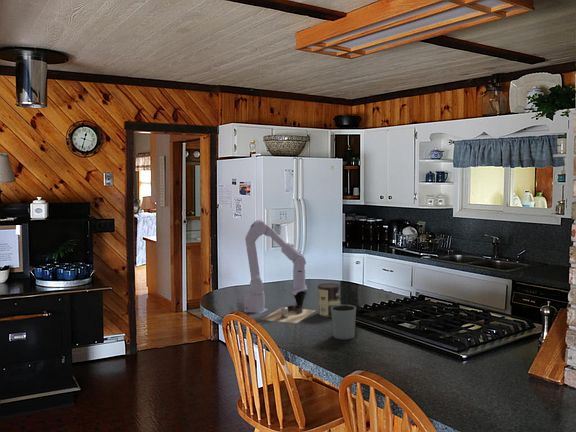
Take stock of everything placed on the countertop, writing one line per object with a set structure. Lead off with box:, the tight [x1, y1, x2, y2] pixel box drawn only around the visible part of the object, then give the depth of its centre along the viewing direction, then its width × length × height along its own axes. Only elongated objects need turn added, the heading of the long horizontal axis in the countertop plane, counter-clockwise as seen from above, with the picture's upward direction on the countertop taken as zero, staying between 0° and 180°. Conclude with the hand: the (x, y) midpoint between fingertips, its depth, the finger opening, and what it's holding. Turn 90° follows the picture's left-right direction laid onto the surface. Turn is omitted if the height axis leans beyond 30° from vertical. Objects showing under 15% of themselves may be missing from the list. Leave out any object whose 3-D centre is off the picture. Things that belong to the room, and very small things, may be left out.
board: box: [260, 307, 317, 324], centre depth 267 cm, size 18×24×1 cm
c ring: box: [284, 304, 304, 314], centre depth 273 cm, size 7×9×2 cm
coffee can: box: [317, 282, 341, 319], centre depth 267 cm, size 10×10×14 cm
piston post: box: [280, 306, 288, 318], centre depth 263 cm, size 3×3×4 cm
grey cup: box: [331, 304, 357, 340], centre depth 233 cm, size 10×10×12 cm
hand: (299, 306), depth 279 cm, fingers closed
